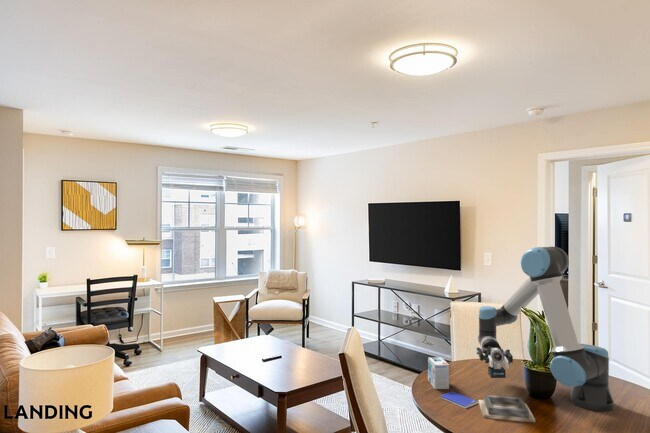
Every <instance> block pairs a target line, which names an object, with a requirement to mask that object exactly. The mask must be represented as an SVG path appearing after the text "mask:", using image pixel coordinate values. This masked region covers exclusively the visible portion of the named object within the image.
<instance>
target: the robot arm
mask: <svg viewBox="0 0 650 433" xmlns="http://www.w3.org/2000/svg"><path fill="white" fill-rule="evenodd" d="M569 265H570V258H569V257H568V254H567V252H565V251H564V250H563V249H562V248H561V247H557V246H538V247H533V248H530V249H527V250H526V251H525V252H524V253H523V255H522V256H521V258H520V267H521V270H522V272H523V273H524V274H525V275H527V277H528V278H527V279H526V280H525V281H524V282H523V283H522V285H520V287H519V288H518V289H517V290H516V291H515V292H514V293H513V294H512V295H511V296H510V297H509V298H508V299H507V300H506V301H505V302H504V304H503V305H502V306H501V307H500V308H496V307H494V306H488V305H487V306H486V305H485V306H484V305H483V306H481V307H480V308H479V309H478V310H479V311H478V336H477V337H478V338H477V340H478V343H479V345H480V347H481V348H480V347H476V354H477V355H478V357H479V359H480V361H481V362H482V361H484V363H485V364H488V365H489V366H490V367H493V360H492V358H491V356H490V355H491V348H498V349H499V350H500V351H501V352H502V353H503V354H504V356H505V358H504V361H503V365H504V367H505V369H507V370H509V368H510V367H509V365H510V364H512V363H513V362H514V358H513V355H512V353H511V350H510V349H505V350H504V349H503V348H502V347H501V346H500V343H499V341H498V340H497V327H501V326H504V325H511V324H513V323H515V322H516V321H517V320H518V315H519V314H521V312H522V311H521V309H520V307H523V308H524V309H525V308H526V307H528V305H529V304H530V303H531V302H532V301H533V300H535V298H536V297H537V296H538V295H539V299H540V302H541V306H542V310H543V312H544V316H545V320H546V322H547V327H548V329H549V330H548V331H549V334H550V336H551V340H552V344H553V347H552V349H551V354H552V359H551V362H550V365H549V367H550V373H551V374H552V376H553V378H554V379H555V380H557V382H559V384H562V385H563V386H565V387H570V388H571V389H570V392H569V401H570V402H571V403H572V404H574V405H576V406H578V407H580V408H583V409H586V410H590V411H595V412H596V411H597V412H609V410H610V411H613V410H614V409H615V401H614V399H613V395H612V393H611V390H610V389H611V388H610V386H609V385H610V384H609V382H610V381H609V378H610V377H609V373H610V372H609V371H610V368H609V367H610V365H609V362H610V357H609V351H608V350H607V349H606V348H603V347H601V346H598V345H592V344H586V343H579V341H578V337H577V335H576V331H575V328H574V325H573V322H572V318H571V316H570V311H569V308H568V306H567V305H568V304H567V301H566V299H565V295H564V292H563V289H562V287H561V286H562V285H561V283H560V282H561V280H562V279H563V274H564V273H565V271H566V270H567V269H568V267H569ZM613 408H614V409H613ZM612 409H613V410H612Z"/></svg>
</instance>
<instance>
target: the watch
mask: <svg viewBox="0 0 650 433" xmlns="http://www.w3.org/2000/svg"><path fill="white" fill-rule="evenodd" d="M490 356H491V358H492V360H493V367H490V365H489V366H487V371H488V373H487V375H489V377H490V379H502V378H503V379H506V378H507V377H506V376H507V375H506V368H504V367H503V365H504V358H505V356H504V354H503V353H502V352H501V351H500V350H499V349H498V348H491V355H490Z"/></svg>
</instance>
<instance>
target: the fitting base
mask: <svg viewBox="0 0 650 433" xmlns="http://www.w3.org/2000/svg"><path fill="white" fill-rule="evenodd" d="M477 401H478V405H479V408H480V411H481V414H482V417H483V418H484V419H495V420H504V421H516V422H526V423H536V418H535V417H534V415H533V412H532V411H531V410H530V408H529V406H528V405H527V403H525V402H524V399H522V397H515V396H514V397H513V396H502V395H490V394H484V395H483V399H478V400H477Z"/></svg>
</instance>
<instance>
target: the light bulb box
mask: <svg viewBox="0 0 650 433" xmlns="http://www.w3.org/2000/svg"><path fill="white" fill-rule="evenodd" d="M427 367H428V368H427V382H429V384H430V385H431V387H432V388H433V389H434V390H449V389H450V364H449V363H448V362H447V361H446V359H444V358H443V357H441V356H438V357H435V356H434V357H427Z"/></svg>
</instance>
